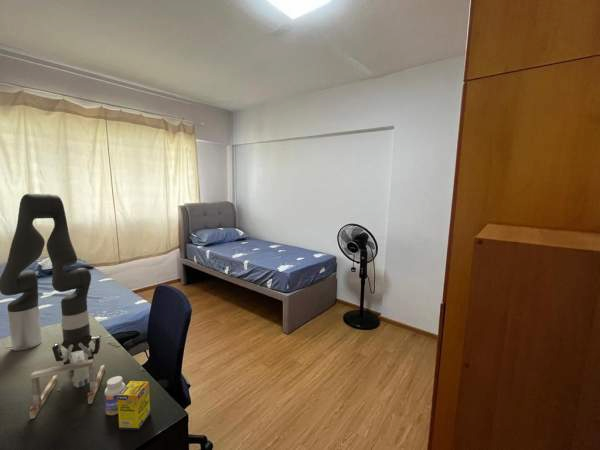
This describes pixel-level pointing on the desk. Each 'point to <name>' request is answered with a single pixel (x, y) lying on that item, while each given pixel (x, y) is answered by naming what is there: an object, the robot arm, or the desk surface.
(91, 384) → the tan holder stand
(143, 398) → the supplement box
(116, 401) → the pill bottle
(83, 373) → the white electric toothbrush
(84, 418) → the desk surface
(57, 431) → the desk surface
